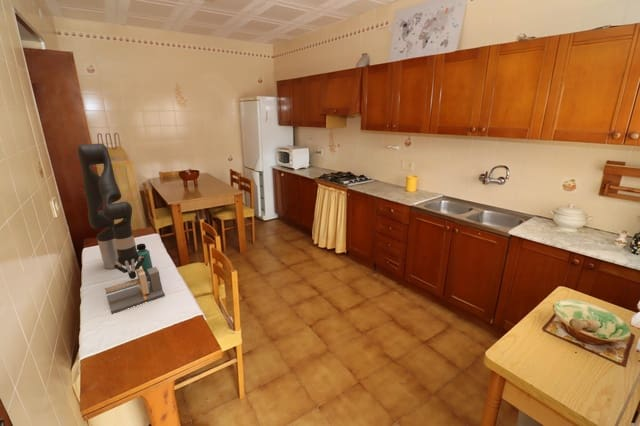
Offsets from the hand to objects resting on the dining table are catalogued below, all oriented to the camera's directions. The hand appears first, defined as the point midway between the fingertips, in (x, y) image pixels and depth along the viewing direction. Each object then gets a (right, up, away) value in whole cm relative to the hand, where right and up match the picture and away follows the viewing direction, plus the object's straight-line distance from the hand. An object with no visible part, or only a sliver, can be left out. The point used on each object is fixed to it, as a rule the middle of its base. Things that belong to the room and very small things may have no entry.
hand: (133, 278), depth 144 cm
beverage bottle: (-4, -4, +19) cm, 20 cm away
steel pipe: (-1, -4, 0) cm, 4 cm away
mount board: (-1, -10, +3) cm, 11 cm away
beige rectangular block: (+3, -7, +5) cm, 9 cm away
